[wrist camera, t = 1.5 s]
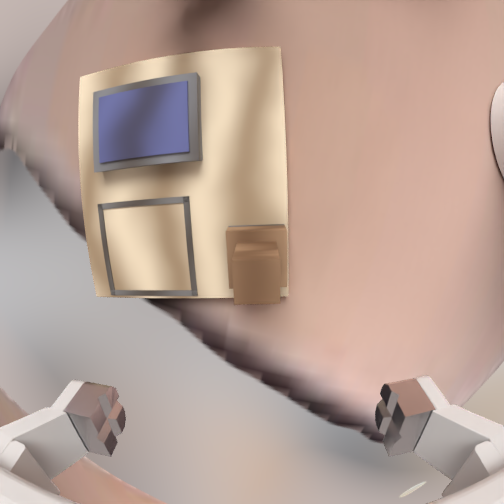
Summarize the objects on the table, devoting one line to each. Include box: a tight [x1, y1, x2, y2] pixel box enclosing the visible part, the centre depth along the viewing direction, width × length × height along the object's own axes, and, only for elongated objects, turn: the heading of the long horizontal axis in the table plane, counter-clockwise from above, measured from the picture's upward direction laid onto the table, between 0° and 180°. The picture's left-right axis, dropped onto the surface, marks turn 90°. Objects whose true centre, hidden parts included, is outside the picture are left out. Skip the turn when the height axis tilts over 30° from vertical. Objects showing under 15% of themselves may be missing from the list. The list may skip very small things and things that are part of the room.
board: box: [78, 47, 288, 298], centre depth 23 cm, size 18×21×3 cm
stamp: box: [226, 224, 287, 305], centre depth 21 cm, size 4×4×7 cm
